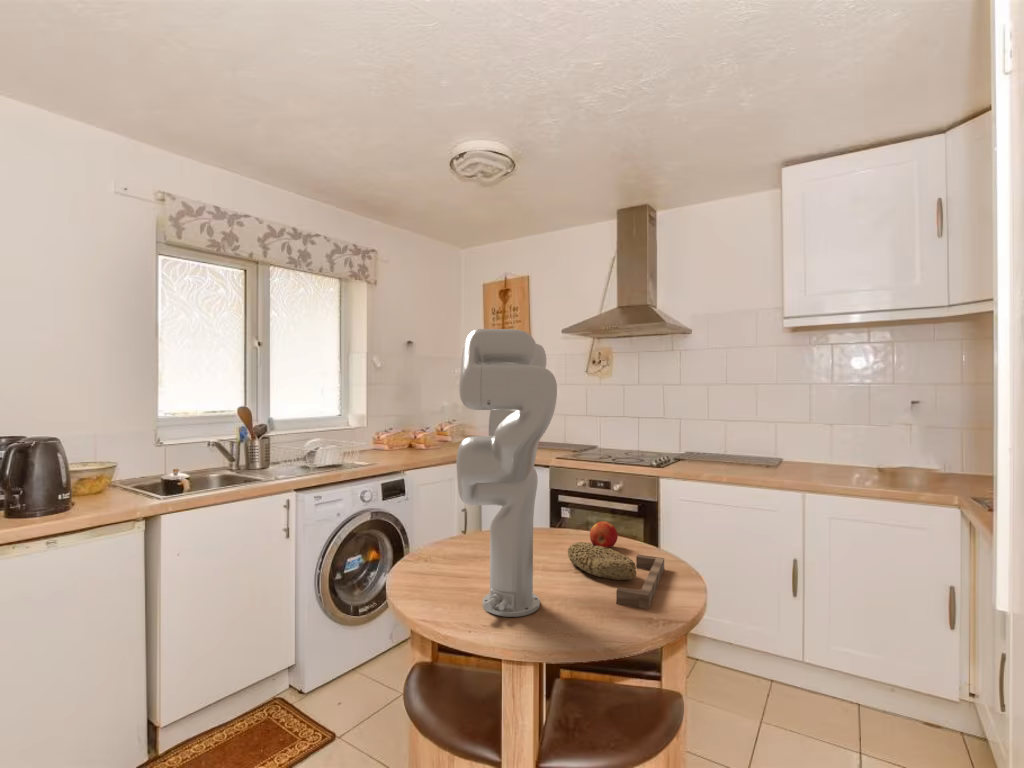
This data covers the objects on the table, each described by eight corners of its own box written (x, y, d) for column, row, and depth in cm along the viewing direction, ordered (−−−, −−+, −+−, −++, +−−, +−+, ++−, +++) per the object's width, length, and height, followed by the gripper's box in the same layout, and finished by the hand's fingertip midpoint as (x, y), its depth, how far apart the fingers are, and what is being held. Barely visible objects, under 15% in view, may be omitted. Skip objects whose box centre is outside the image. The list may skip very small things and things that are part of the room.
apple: (620, 547, 154) (620, 521, 154) (610, 555, 147) (610, 527, 147) (596, 543, 158) (596, 517, 158) (585, 550, 151) (585, 523, 151)
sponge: (562, 568, 139) (592, 579, 120) (565, 539, 141) (595, 544, 123) (606, 573, 142) (642, 584, 123) (608, 544, 144) (644, 551, 125)
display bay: (648, 609, 110) (648, 595, 110) (616, 603, 113) (616, 590, 113) (664, 569, 135) (664, 558, 135) (637, 565, 138) (637, 554, 138)
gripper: (539, 398, 135) (539, 466, 135) (489, 397, 141) (488, 463, 141) (529, 398, 128) (528, 471, 128) (476, 397, 135) (476, 467, 134)
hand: (507, 466), depth 135 cm, fingers closed
